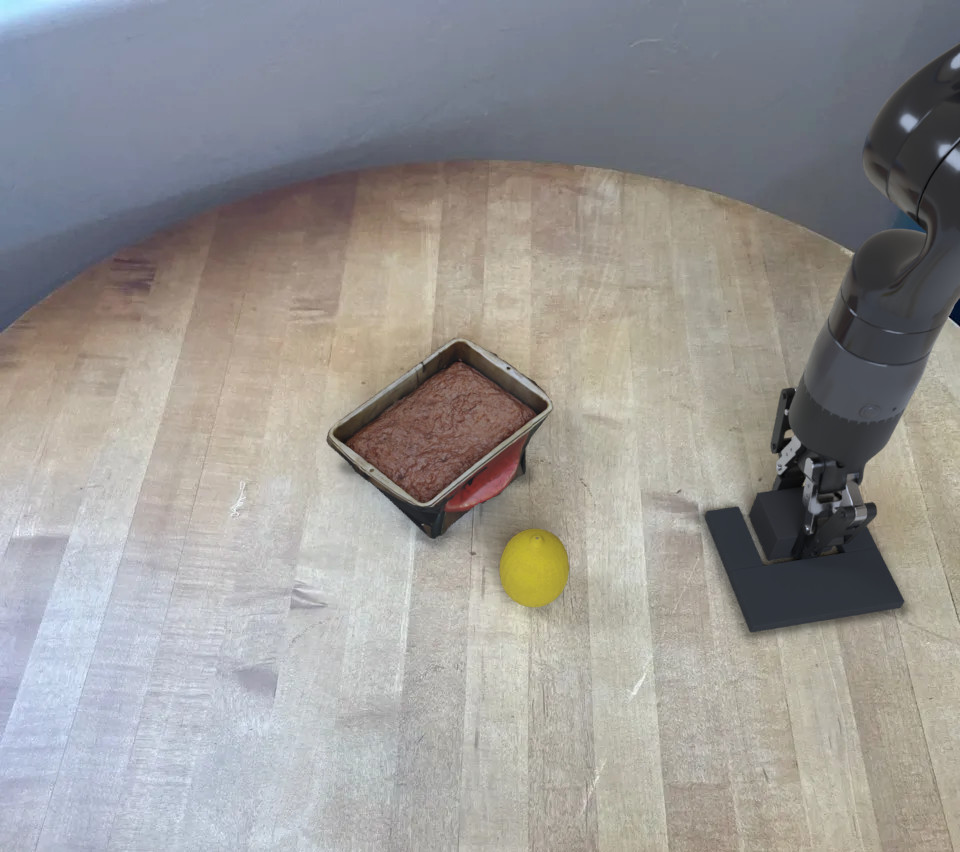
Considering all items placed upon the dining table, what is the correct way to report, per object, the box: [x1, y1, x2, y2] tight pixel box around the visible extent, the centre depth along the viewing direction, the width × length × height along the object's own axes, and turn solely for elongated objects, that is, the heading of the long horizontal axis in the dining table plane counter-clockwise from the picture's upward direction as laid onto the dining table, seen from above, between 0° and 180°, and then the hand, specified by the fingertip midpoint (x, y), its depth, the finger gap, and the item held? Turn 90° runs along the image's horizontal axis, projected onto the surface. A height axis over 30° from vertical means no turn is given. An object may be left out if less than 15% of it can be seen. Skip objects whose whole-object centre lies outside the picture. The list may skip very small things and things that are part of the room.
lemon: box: [499, 528, 570, 608], centre depth 79 cm, size 6×6×8 cm
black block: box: [748, 485, 834, 561], centre depth 84 cm, size 6×5×3 cm
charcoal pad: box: [704, 493, 905, 634], centre depth 84 cm, size 13×12×2 cm
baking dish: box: [325, 337, 554, 540], centre depth 86 cm, size 14×18×10 cm
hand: (791, 528), depth 85 cm, fingers closed on black block, 5 cm apart
